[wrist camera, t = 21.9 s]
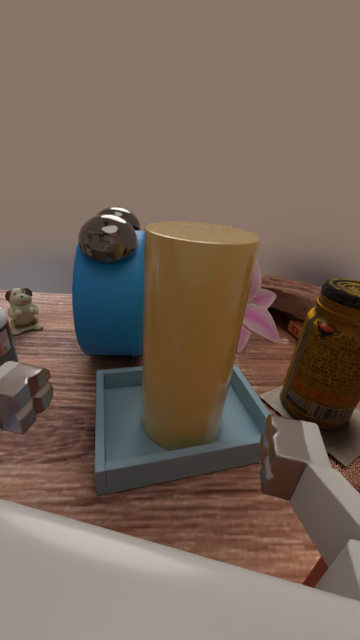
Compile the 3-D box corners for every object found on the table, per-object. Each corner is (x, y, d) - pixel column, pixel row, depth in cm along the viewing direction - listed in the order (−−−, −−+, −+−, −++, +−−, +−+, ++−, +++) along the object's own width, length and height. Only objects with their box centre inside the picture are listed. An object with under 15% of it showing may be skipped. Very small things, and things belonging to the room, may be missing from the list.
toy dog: (11, 337, 32) (2, 298, 29) (11, 319, 35) (2, 283, 33) (44, 332, 33) (37, 294, 31) (40, 315, 37) (34, 280, 35)
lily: (182, 356, 33) (225, 308, 26) (180, 287, 40) (213, 236, 33) (262, 374, 37) (317, 337, 30) (247, 309, 44) (288, 267, 37)
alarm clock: (142, 383, 27) (145, 224, 20) (77, 383, 26) (56, 217, 19) (145, 320, 38) (148, 205, 31) (100, 319, 37) (92, 201, 30)
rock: (317, 327, 33) (327, 287, 32) (217, 296, 48) (222, 268, 47) (348, 325, 38) (358, 289, 37) (248, 297, 53) (253, 271, 52)
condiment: (303, 375, 30) (342, 270, 24) (387, 430, 24) (464, 307, 18) (258, 397, 26) (292, 279, 21) (344, 470, 20) (425, 330, 15)
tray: (96, 496, 17) (94, 472, 16) (98, 390, 25) (96, 369, 24) (278, 458, 20) (287, 437, 19) (227, 376, 29) (231, 357, 28)
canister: (147, 459, 19) (155, 241, 12) (136, 393, 24) (138, 219, 18) (233, 444, 21) (285, 245, 14) (205, 385, 26) (231, 223, 19)
